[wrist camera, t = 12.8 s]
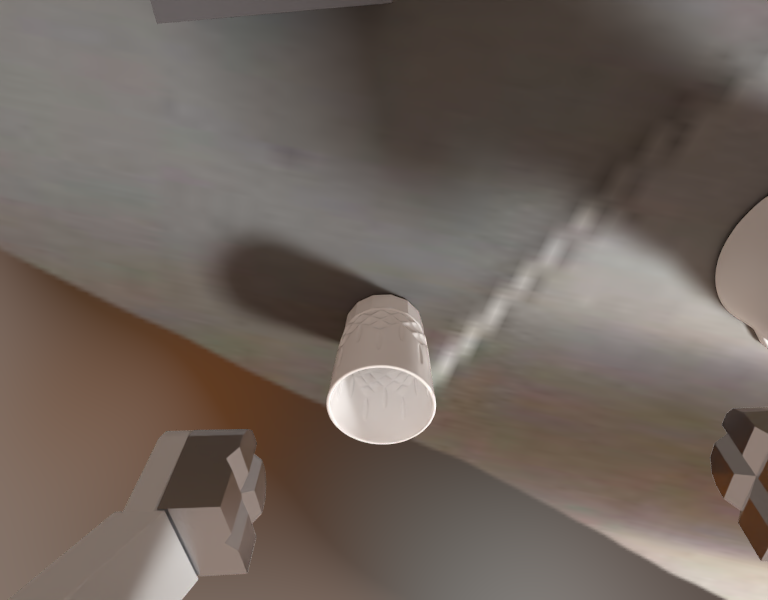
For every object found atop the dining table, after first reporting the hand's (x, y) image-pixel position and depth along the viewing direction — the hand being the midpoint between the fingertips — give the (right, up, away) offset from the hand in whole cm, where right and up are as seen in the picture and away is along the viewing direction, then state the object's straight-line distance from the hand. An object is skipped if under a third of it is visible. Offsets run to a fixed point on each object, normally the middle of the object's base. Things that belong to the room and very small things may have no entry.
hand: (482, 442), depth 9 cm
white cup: (-2, 0, +37) cm, 37 cm away
